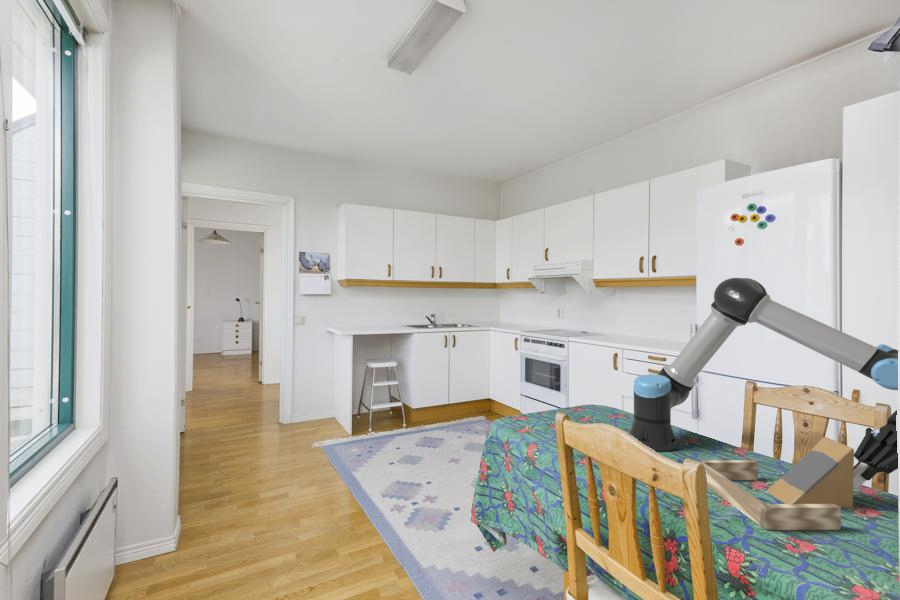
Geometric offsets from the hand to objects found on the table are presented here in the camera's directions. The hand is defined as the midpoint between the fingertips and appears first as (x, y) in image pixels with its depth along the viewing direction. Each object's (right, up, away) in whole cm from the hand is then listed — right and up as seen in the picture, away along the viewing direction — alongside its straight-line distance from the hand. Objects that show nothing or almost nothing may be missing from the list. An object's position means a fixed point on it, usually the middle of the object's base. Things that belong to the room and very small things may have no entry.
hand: (849, 484), depth 105 cm
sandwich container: (-10, -4, +1) cm, 11 cm away
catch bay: (-23, -4, 0) cm, 23 cm away
